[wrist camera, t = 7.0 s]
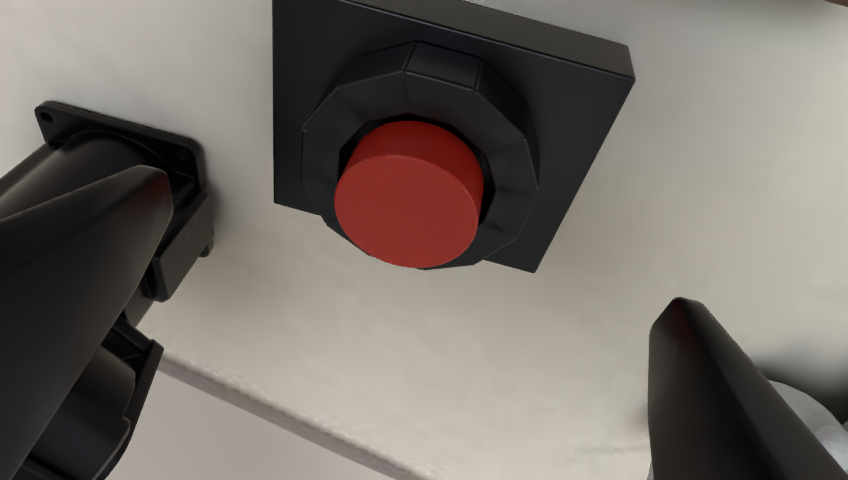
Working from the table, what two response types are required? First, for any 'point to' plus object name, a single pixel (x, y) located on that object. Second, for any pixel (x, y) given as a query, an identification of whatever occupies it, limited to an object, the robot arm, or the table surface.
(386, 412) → the table surface
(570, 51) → the button box
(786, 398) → the toy
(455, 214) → the button
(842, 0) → the panel
